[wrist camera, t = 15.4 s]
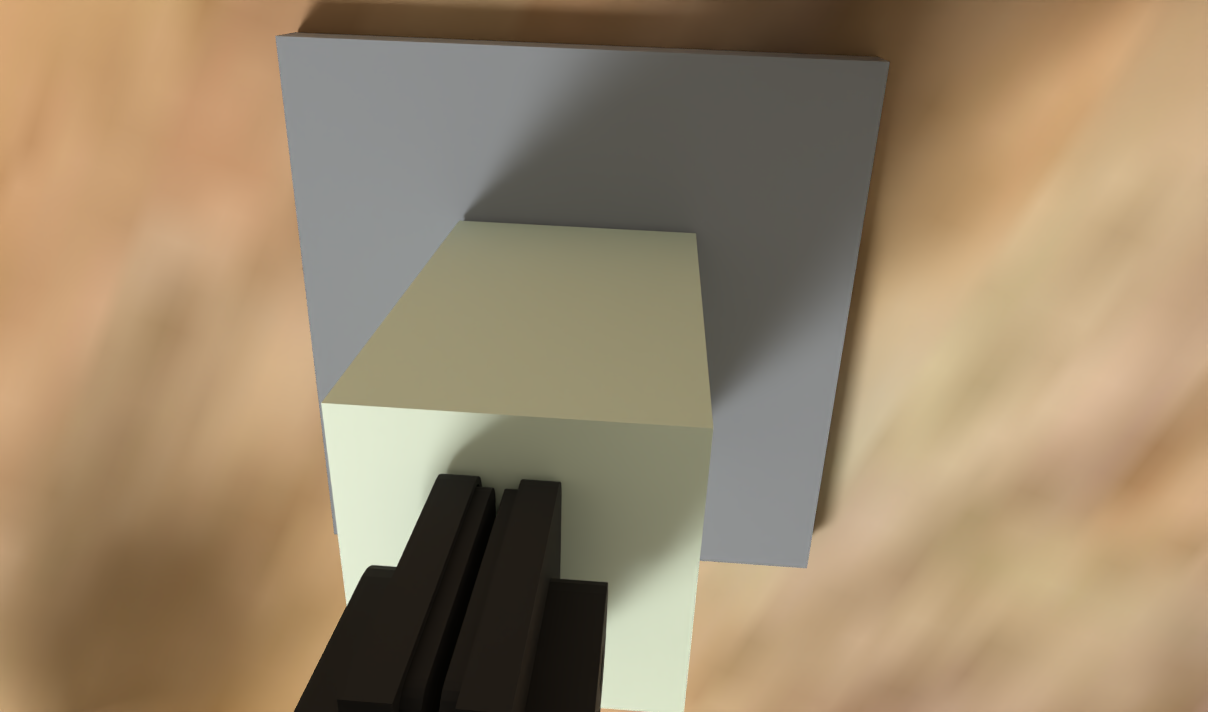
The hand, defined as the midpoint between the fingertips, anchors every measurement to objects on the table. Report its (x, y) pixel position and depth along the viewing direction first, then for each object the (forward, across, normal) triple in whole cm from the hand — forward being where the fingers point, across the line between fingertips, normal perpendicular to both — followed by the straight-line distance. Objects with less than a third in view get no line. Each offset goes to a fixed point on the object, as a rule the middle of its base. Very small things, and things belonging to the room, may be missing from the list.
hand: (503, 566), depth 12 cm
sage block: (+8, 0, 0) cm, 8 cm away
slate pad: (+9, 0, 0) cm, 9 cm away
